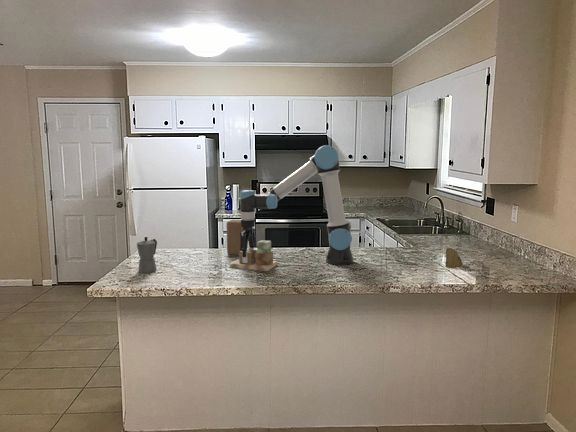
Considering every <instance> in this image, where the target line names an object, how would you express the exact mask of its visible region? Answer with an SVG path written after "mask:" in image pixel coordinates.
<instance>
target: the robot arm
mask: <svg viewBox="0 0 576 432" xmlns="http://www.w3.org/2000/svg"><path fill="white" fill-rule="evenodd" d="M340 171H341V167H340V160H339V153H338V150H336V148H335V147H334V146H332V145H328V144H324V145H322V146H320V147H318V149H316V151H315V152H314V155H312V156H310V157H309V161H308V162H306V163H305V164H304V165H302V166H301V167H299V168H298V169H297V170H295V171H294V172H293V173H291V174H290V175H288V176H287V177H286V178H284V179H283V180H282V181H281V182H279V183H278V184H276V185H275V186H274V187H273V188H271V189H269V190H268V191H267V192H266V193H262V194H261V193H259V194H258V193H255V191H254V190H252V189H250V190H249V189H244V190H241V191H240V195H239V197H240V199H239V201H240V203H239V205H240V220H241V227H243V232H240V236H241V238H240V251H242V261H243V263H248V251H247V249H249V250H254V248H257V242H256V241H257V240H256V228H254V227H255V226H256V216H255V215H256V213H255V212H256V210H255V209H264V210H265V209H266V210H267V209H269V210H271V209H275V210H276V208H278V202H279V201H281V199H283V198H285V197H286V196H287V195H288V194H290V193H291V192H293V191H294V190H295V189H296V188H298V187H300V186H301V185H302V184H303V183H305V182H306V181H308V180H309V179H311V178H312V177H313V176H314V175H316V174H317V175H319V176H320V177H321V178H320V179H321V182H322V187H323V194H324V195H323V196H324V199H325V200H324V201H325V206H326V211H327V212H326V213H327V217H328V218H327V219H328V223H327V224H326V229H327V234H328V244H329V245H328V247H329V248H328V251H327V253H326V256H325V262H326V263H328V264H331V265H335V266H336V265H338V266H341V265H344V266H345V265H346V266H347V265H351V264H352V263H354V257H353V253H352V250H351V243H352V241H353V237H352V233H351V231H352V230H351V227H352V225H351V222H350V221H349V220H347V218H346V215H345V214H346V213H345V208H344V203H343V196H342V193H341V192H342V190H341V185H340V179H339V172H340Z"/></svg>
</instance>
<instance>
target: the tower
mask: <svg viewBox="0 0 576 432" xmlns="http://www.w3.org/2000/svg"><path fill="white" fill-rule="evenodd" d="M256 248H257V253H256V265H266V266H268V265H270V264H271V263H273V261H274V251H272V241H271V240H266V239H262V240H258V241H257V242H256Z"/></svg>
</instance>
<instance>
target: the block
mask: <svg viewBox="0 0 576 432" xmlns="http://www.w3.org/2000/svg"><path fill="white" fill-rule="evenodd" d="M241 220H242V219H231V220H229V221H227V222H226V247H227V248H226V253H227V255H230V256H239V252H240V238H241V236H240V232H243V227H241Z"/></svg>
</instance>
